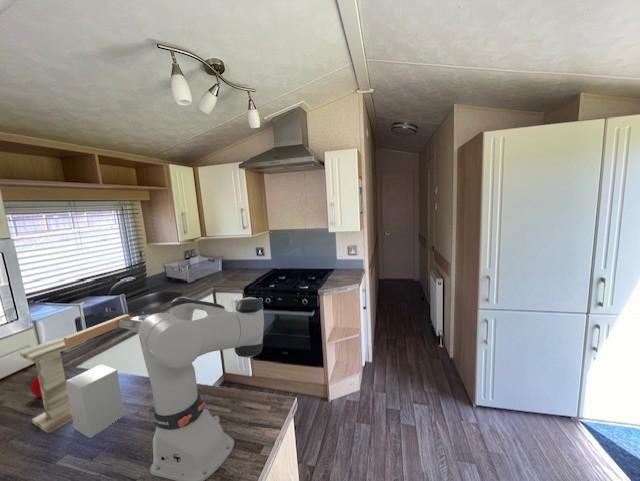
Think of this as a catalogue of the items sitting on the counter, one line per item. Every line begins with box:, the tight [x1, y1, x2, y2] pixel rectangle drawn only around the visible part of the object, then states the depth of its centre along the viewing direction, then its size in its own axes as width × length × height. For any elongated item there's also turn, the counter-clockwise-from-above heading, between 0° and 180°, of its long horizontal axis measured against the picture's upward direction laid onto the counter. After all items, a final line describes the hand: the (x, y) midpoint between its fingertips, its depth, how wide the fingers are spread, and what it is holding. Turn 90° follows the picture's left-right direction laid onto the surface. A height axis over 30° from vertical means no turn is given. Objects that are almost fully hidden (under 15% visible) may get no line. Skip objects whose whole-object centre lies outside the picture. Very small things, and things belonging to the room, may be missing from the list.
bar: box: [62, 313, 131, 348], centre depth 102 cm, size 3×20×3 cm, turn 155°
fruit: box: [29, 375, 42, 398], centre depth 110 cm, size 9×9×10 cm
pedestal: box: [65, 364, 125, 439], centre depth 91 cm, size 10×10×17 cm
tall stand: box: [19, 333, 87, 434], centre depth 96 cm, size 12×14×26 cm
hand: (115, 322), depth 106 cm, fingers closed on bar, 3 cm apart
